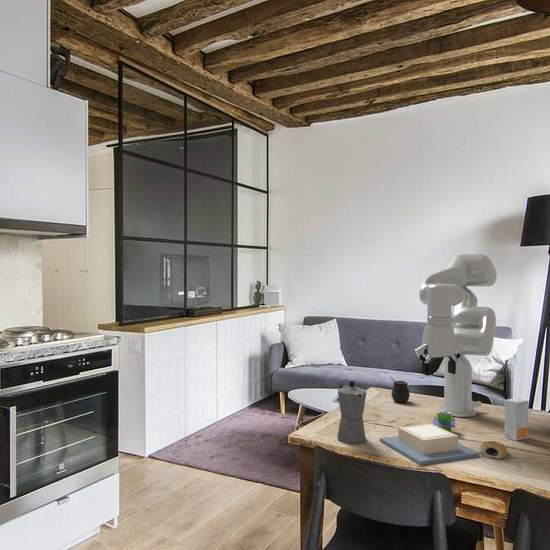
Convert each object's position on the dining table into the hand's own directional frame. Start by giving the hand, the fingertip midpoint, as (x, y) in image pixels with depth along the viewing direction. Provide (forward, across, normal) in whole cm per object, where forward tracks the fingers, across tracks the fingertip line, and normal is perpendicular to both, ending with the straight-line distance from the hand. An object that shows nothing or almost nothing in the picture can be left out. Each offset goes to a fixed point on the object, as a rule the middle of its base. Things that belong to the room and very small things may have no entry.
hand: (439, 374), depth 158 cm
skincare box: (+19, -20, +12) cm, 30 cm away
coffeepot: (+19, +31, -2) cm, 36 cm away
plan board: (+19, +13, +13) cm, 26 cm away
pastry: (+19, -3, +22) cm, 29 cm away
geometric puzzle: (+19, -1, +1) cm, 19 cm away
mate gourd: (+19, -8, -38) cm, 43 cm away
